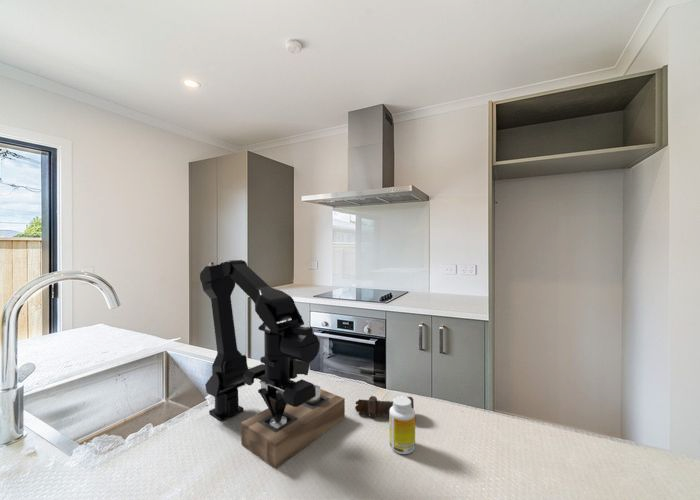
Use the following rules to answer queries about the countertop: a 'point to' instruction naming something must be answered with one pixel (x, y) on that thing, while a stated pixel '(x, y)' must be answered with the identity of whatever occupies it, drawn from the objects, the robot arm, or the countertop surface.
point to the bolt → (375, 406)
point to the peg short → (316, 398)
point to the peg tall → (278, 424)
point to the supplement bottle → (402, 425)
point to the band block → (291, 428)
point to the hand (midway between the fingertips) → (278, 420)
